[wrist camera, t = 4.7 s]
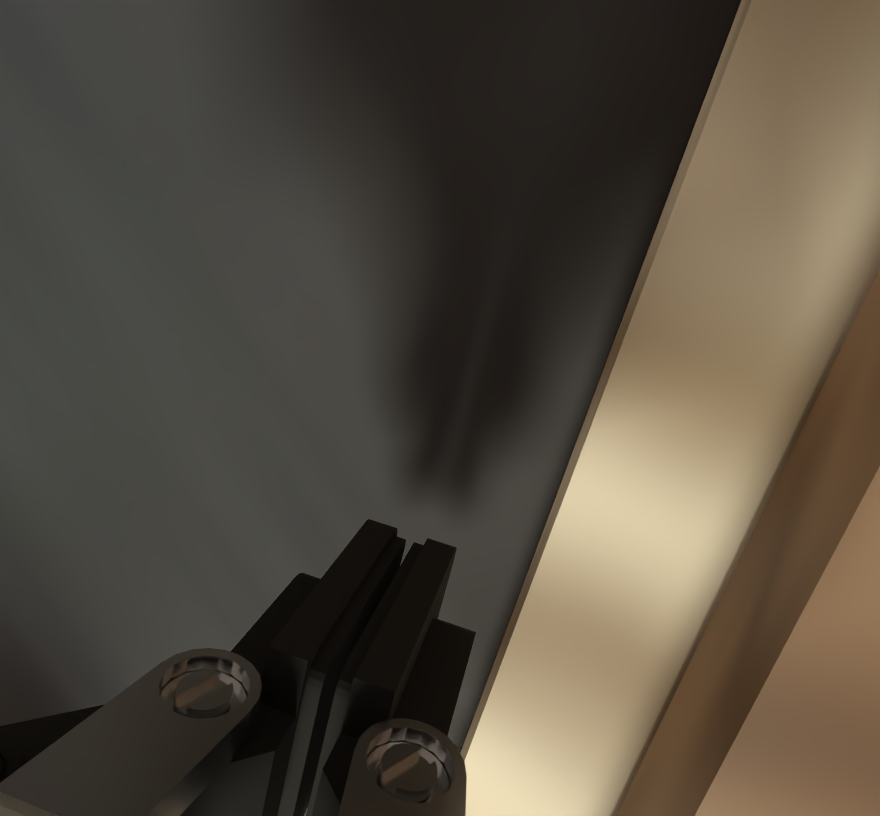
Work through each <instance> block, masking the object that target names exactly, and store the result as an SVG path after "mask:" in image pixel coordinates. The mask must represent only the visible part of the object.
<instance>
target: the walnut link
mask: <svg viewBox="0 0 880 816" xmlns="http://www.w3.org/2000/svg"><path fill="white" fill-rule="evenodd" d="M616 816H880V269H879V271H878V273H877V275H876V277H875V279H874V281H873V283H872V285H871V287H870V290H869V292H868V294H867V296H866V298H865V300H864V302H863V304H862V306H861V308H860V310H859V312H858V314H857V317H856V319H855V321H854V323H853V325H852V327H851V329H850V331H849V333H848V335H847V337H846V339H845V341H844V344H843V346H842V348H841V350H840V352H839V354H838V356H837V358H836V360H835V362H834V364H833V366H832V368H831V370H830V373H829V375H828V377H827V379H826V381H825V383H824V385H823V387H822V389H821V391H820V393H819V395H818V397H817V400H816V402H815V404H814V406H813V408H812V410H811V412H810V414H809V416H808V418H807V420H806V422H805V424H804V427H803V429H802V431H801V433H800V435H799V437H798V439H797V441H796V443H795V445H794V447H793V449H792V451H791V454H790V456H789V458H788V460H787V462H786V464H785V466H784V468H783V470H782V472H781V474H780V476H779V478H778V481H777V483H776V485H775V487H774V489H773V491H772V493H771V495H770V497H769V499H768V501H767V503H766V505H765V507H764V510H763V512H762V514H761V516H760V518H759V520H758V522H757V524H756V526H755V528H754V530H753V532H752V534H751V537H750V539H749V541H748V543H747V545H746V547H745V549H744V551H743V553H742V555H741V557H740V559H739V561H738V564H737V566H736V568H735V570H734V572H733V574H732V576H731V578H730V580H729V582H728V584H727V586H726V588H725V591H724V593H723V595H722V597H721V599H720V601H719V603H718V605H717V607H716V609H715V611H714V613H713V615H712V617H711V620H710V622H709V624H708V626H707V628H706V630H705V632H704V634H703V636H702V638H701V640H700V642H699V644H698V647H697V649H696V651H695V653H694V655H693V657H692V659H691V661H690V663H689V665H688V667H687V669H686V671H685V674H684V676H683V678H682V680H681V682H680V684H679V686H678V688H677V690H676V692H675V694H674V696H673V698H672V701H671V703H670V705H669V707H668V709H667V711H666V713H665V715H664V717H663V719H662V721H661V723H660V725H659V727H658V730H657V732H656V734H655V736H654V738H653V740H652V742H651V744H650V746H649V748H648V750H647V752H646V754H645V757H644V759H643V761H642V763H641V765H640V767H639V769H638V771H637V773H636V775H635V777H634V779H633V781H632V784H631V786H630V788H629V790H628V792H627V794H626V796H625V798H624V800H623V802H622V804H621V806H620V808H619V811H618V813H617V815H616Z"/></svg>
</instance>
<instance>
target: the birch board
mask: <svg viewBox="0 0 880 816" xmlns="http://www.w3.org/2000/svg"><path fill="white" fill-rule="evenodd" d="M879 269H880V0H741V3H740V5H739V8H738V11H737V13H736V16H735V19H734V21H733V24H732V27H731V29H730V32H729V35H728V37H727V40H726V43H725V45H724V48H723V51H722V53H721V56H720V59H719V62H718V64H717V67H716V70H715V72H714V75H713V78H712V80H711V83H710V86H709V88H708V91H707V94H706V96H705V99H704V102H703V104H702V107H701V110H700V112H699V115H698V118H697V120H696V123H695V126H694V128H693V131H692V134H691V136H690V139H689V142H688V145H687V147H686V150H685V153H684V155H683V158H682V161H681V163H680V166H679V169H678V171H677V174H676V177H675V179H674V182H673V185H672V187H671V190H670V193H669V195H668V198H667V201H666V203H665V206H664V209H663V211H662V214H661V217H660V220H659V222H658V225H657V228H656V230H655V233H654V236H653V238H652V241H651V244H650V246H649V249H648V252H647V254H646V257H645V260H644V262H643V265H642V268H641V270H640V273H639V276H638V278H637V281H636V284H635V286H634V289H633V292H632V295H631V297H630V300H629V303H628V305H627V308H626V311H625V313H624V316H623V319H622V321H621V324H620V327H619V329H618V332H617V335H616V337H615V340H614V343H613V345H612V348H611V351H610V353H609V356H608V359H607V361H606V364H605V367H604V369H603V372H602V375H601V378H600V380H599V383H598V386H597V388H596V391H595V394H594V396H593V399H592V402H591V404H590V407H589V410H588V412H587V415H586V418H585V420H584V423H583V426H582V428H581V431H580V434H579V436H578V439H577V442H576V444H575V447H574V450H573V453H572V455H571V458H570V461H569V463H568V466H567V469H566V471H565V474H564V477H563V479H562V482H561V485H560V487H559V490H558V493H557V495H556V498H555V501H554V503H553V506H552V509H551V511H550V514H549V517H548V519H547V522H546V525H545V528H544V530H543V533H542V536H541V538H540V541H539V544H538V546H537V549H536V552H535V554H534V557H533V560H532V562H531V565H530V568H529V570H528V573H527V576H526V578H525V581H524V584H523V586H522V589H521V592H520V594H519V597H518V600H517V602H516V605H515V608H514V611H513V613H512V616H511V619H510V621H509V624H508V627H507V629H506V632H505V635H504V637H503V640H502V643H501V645H500V648H499V651H498V653H497V656H496V659H495V661H494V664H493V667H492V669H491V672H490V675H489V677H488V680H487V683H486V686H485V688H484V691H483V694H482V696H481V699H480V702H479V704H478V707H477V710H476V712H475V715H474V718H473V720H472V723H471V726H470V728H469V731H468V734H467V736H466V739H465V742H464V744H463V747H462V750H461V752H460V754H461V756H462V758H463V760H464V762H465V769H466V775H467V783H466V815H465V816H616V815H617V813H618V811H619V808H620V806H621V804H622V802H623V800H624V798H625V796H626V794H627V792H628V790H629V788H630V786H631V784H632V781H633V779H634V777H635V775H636V773H637V771H638V769H639V767H640V765H641V763H642V761H643V759H644V757H645V754H646V752H647V750H648V748H649V746H650V744H651V742H652V740H653V738H654V736H655V734H656V732H657V730H658V727H659V725H660V723H661V721H662V719H663V717H664V715H665V713H666V711H667V709H668V707H669V705H670V703H671V701H672V698H673V696H674V694H675V692H676V690H677V688H678V686H679V684H680V682H681V680H682V678H683V676H684V674H685V671H686V669H687V667H688V665H689V663H690V661H691V659H692V657H693V655H694V653H695V651H696V649H697V647H698V644H699V642H700V640H701V638H702V636H703V634H704V632H705V630H706V628H707V626H708V624H709V622H710V620H711V617H712V615H713V613H714V611H715V609H716V607H717V605H718V603H719V601H720V599H721V597H722V595H723V593H724V591H725V588H726V586H727V584H728V582H729V580H730V578H731V576H732V574H733V572H734V570H735V568H736V566H737V564H738V561H739V559H740V557H741V555H742V553H743V551H744V549H745V547H746V545H747V543H748V541H749V539H750V537H751V534H752V532H753V530H754V528H755V526H756V524H757V522H758V520H759V518H760V516H761V514H762V512H763V510H764V507H765V505H766V503H767V501H768V499H769V497H770V495H771V493H772V491H773V489H774V487H775V485H776V483H777V481H778V478H779V476H780V474H781V472H782V470H783V468H784V466H785V464H786V462H787V460H788V458H789V456H790V454H791V451H792V449H793V447H794V445H795V443H796V441H797V439H798V437H799V435H800V433H801V431H802V429H803V427H804V424H805V422H806V420H807V418H808V416H809V414H810V412H811V410H812V408H813V406H814V404H815V402H816V400H817V397H818V395H819V393H820V391H821V389H822V387H823V385H824V383H825V381H826V379H827V377H828V375H829V373H830V370H831V368H832V366H833V364H834V362H835V360H836V358H837V356H838V354H839V352H840V350H841V348H842V346H843V344H844V341H845V339H846V337H847V335H848V333H849V331H850V329H851V327H852V325H853V323H854V321H855V319H856V317H857V314H858V312H859V310H860V308H861V306H862V304H863V302H864V300H865V298H866V296H867V294H868V292H869V290H870V287H871V285H872V283H873V281H874V279H875V277H876V275H877V273H878V271H879Z"/></svg>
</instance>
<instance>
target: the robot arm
mask: <svg viewBox="0 0 880 816" xmlns="http://www.w3.org/2000/svg"><path fill="white" fill-rule="evenodd" d="M405 543H406V539H402V538H399V537H397V528H394V527H391V526H388V525H385V524H382V523H379V522H376V521H373V520H370V519H368V520H367V521H366V522H365V523H364V525H363V526H362V527H361V529H360V530H359V531H358V532H357V534H356V535H355V536H354V537H353V539H352V540H351V541H350V543H349V544H348V545H347V546H346V548H345V549H344V550H343V551H342V553H341V554H340V555H339V557H338V558H337V559H336V560H335V562H334V563H333V564H332V565H331V567H330V568H329V569H328V571H327V572H326V573H325V574H324V576H323V577H322V578H321V579H319V578H316V577H313V576H310V575H307V574H304V573H299V574H298V575H297V576H296V577H295V578H294V579H293V580H292V581H291V583H290V584H289V585H288V586H287V587H286V588H285V590H284V591H283V592H282V593H281V594H280V595H279V596H278V598H277V599H276V600H275V601H274V602H273V603H272V605H271V606H270V607H269V608H268V609H267V610H266V612H265V613H264V614H263V615H262V616H261V617H260V618H259V620H258V621H257V622H256V623H255V624H254V625H253V627H252V628H251V629H250V630H249V631H248V632H247V633H246V635H245V636H244V637H243V638H242V639H241V640H240V642H239V643H238V644H237V645H236V646H235V647H234V648H233V650H232V651H231V652H229V651H227V650H220V649H212V648H204V649H192V650H189V651H185V652H182V653H178V654H176V655H174V656H172V657H170V658H168V659H167V660H165V661H163V662H161V663H160V664H159V665H157V666H156V667H155V668H153V669H152V670H151V671H149V672H148V673H147V674H145V675H144V676H143V677H141V678H140V679H139V680H137V681H136V682H135V683H133V684H132V685H131V686H129V687H128V688H127V689H125V690H124V691H123V692H121V693H120V694H119V695H117V696H116V697H115V698H113V699H112V700H110V701H109V702H108V703H106V704H105V705H101V706H96V707H91V708H87V709H82V710H77V711H72V712H67V713H62V714H58V715H53V716H48V717H43V718H38V719H33V720H29V721H24V722H19V723H14V724H9V725H4V726H0V816H304V813H305V811H306V809H307V807H308V810H307V814H306V816H465V815H466V783H467V775H466V769H465V762H464V760H463V758H462V756H461V754H460V752H459V750H458V748H457V747H456V746H455V744H454V743H453V742H452V741H451V740H450V739H449V738H448V737H447V735H448V731H449V728H450V724H451V720H452V717H453V713H454V710H455V706H456V702H457V699H458V695H459V691H460V688H461V684H462V681H463V677H464V673H465V670H466V666H467V662H468V659H469V655H470V652H471V648H472V644H473V641H474V637H475V633H476V632H473V631H471V630H468V629H465V628H462V627H459V626H456V625H453V624H450V623H447V622H444V621H441V620H439V619H437V618H438V615H439V611H440V608H441V604H442V600H443V597H444V593H445V590H446V586H447V582H448V579H449V575H450V572H451V568H452V564H453V561H454V557H455V553H456V547H453V546H450V545H447V544H444V543H441V542H437V541H434V540H431V539H427V540H426V542H425V544H424V545H421V544H418V543H415V542H414V543H413V545H412V546H411V548H410V550H409V552H408V554H407V555H406V557H405V559H404V561H403V562H402V564H401V560H402V556H403V552H404V548H405ZM400 564H401V566H400ZM308 805H309V806H308Z"/></svg>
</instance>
